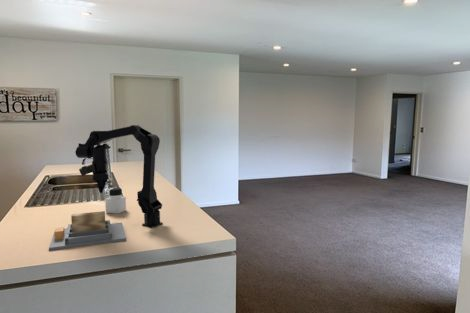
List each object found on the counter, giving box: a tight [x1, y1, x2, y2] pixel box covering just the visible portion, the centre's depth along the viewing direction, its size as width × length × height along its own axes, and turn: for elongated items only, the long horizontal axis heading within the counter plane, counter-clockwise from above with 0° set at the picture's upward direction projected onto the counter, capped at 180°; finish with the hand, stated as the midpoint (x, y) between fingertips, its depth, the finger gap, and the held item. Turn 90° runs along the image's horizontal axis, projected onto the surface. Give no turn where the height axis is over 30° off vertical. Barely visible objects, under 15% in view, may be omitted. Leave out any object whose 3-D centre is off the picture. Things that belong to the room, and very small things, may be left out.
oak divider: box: [70, 210, 106, 233], centre depth 133 cm, size 12×3×8 cm, turn 113°
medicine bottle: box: [104, 187, 127, 215], centre depth 169 cm, size 7×7×12 cm
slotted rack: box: [48, 219, 127, 251], centre depth 133 cm, size 26×22×4 cm
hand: (100, 192), depth 153 cm, fingers closed
